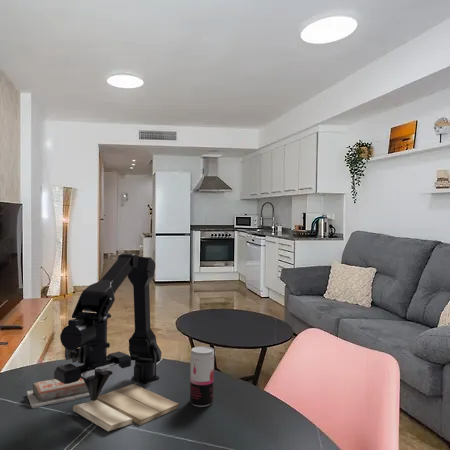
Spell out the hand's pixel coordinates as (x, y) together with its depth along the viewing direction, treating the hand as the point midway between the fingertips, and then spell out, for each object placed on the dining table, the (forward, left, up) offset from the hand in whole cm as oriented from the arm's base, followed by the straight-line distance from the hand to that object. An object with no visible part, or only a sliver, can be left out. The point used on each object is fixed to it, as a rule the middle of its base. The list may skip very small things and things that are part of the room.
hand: (93, 400), depth 107 cm
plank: (-2, 0, -5) cm, 5 cm away
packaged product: (-3, -20, -6) cm, 21 cm away
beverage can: (-27, +12, -6) cm, 30 cm away
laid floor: (-13, 0, -5) cm, 14 cm away
